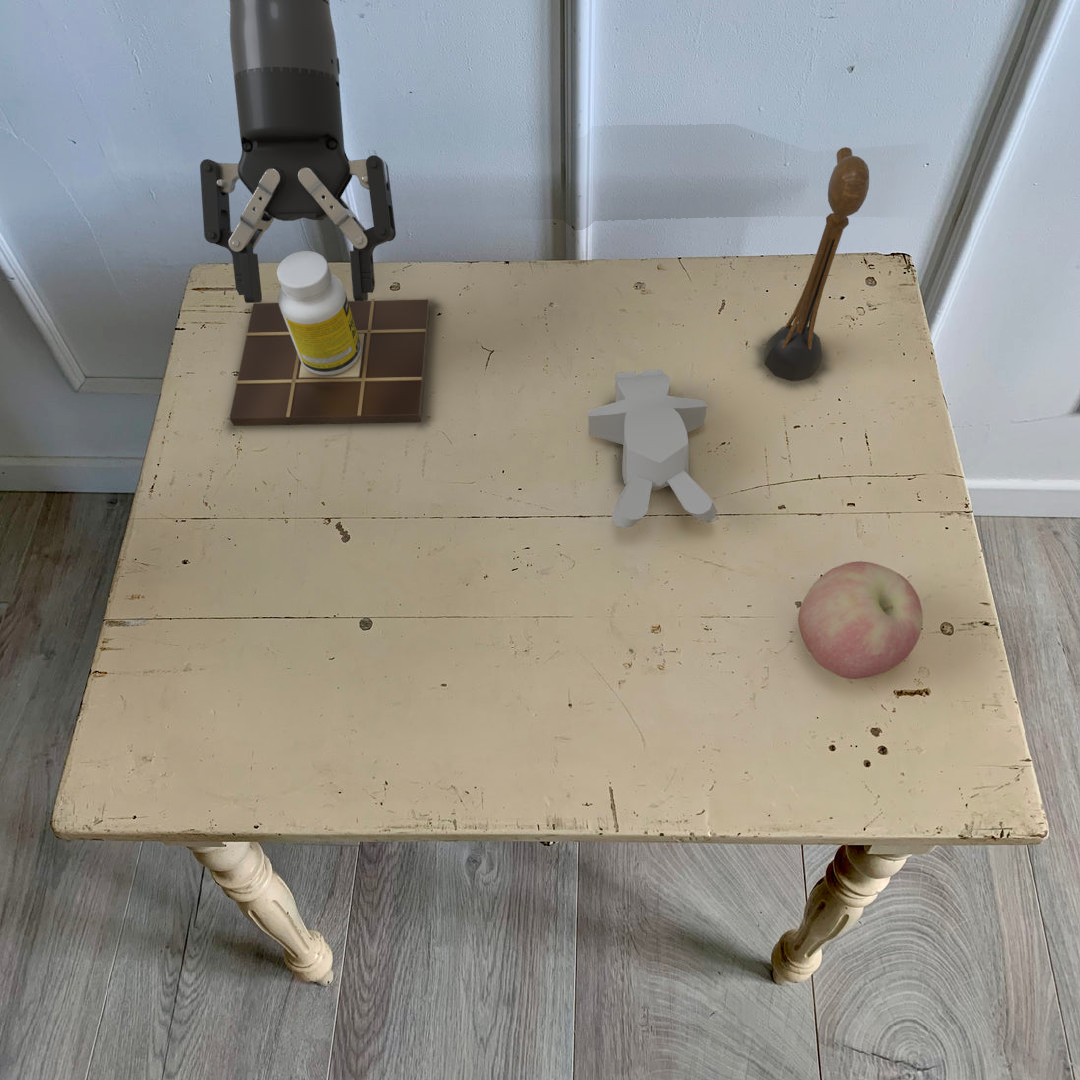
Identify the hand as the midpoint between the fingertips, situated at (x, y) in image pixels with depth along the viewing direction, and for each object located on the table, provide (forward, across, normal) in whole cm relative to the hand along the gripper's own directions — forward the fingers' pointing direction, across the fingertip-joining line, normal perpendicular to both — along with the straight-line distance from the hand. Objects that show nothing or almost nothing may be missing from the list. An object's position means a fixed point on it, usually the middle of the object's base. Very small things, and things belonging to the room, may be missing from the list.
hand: (307, 301), depth 70 cm
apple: (+25, +40, -12) cm, 48 cm away
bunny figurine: (+13, +27, 0) cm, 30 cm away
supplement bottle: (+5, 0, +6) cm, 8 cm away
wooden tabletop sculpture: (+6, +40, +7) cm, 41 cm away
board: (+6, 0, +7) cm, 9 cm away
